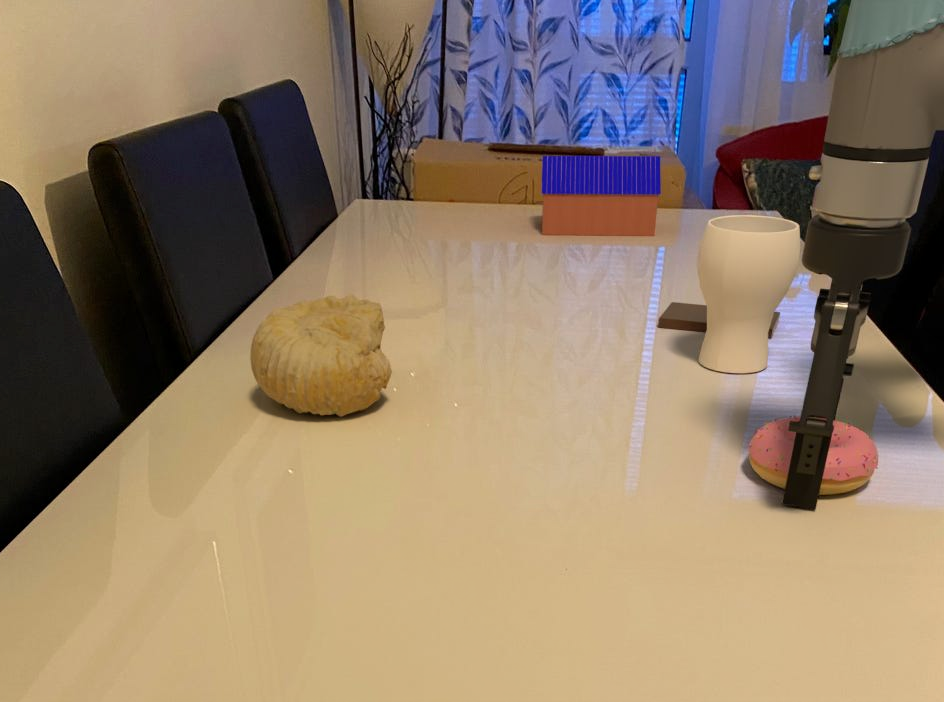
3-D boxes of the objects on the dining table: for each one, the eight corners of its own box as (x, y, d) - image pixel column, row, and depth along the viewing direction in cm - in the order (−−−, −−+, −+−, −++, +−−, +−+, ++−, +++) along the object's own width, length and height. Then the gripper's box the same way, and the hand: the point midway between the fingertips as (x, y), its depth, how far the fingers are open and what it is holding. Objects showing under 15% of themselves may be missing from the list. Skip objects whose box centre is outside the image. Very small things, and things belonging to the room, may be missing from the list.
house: (540, 221, 181) (542, 150, 175) (650, 222, 180) (656, 151, 173) (540, 235, 171) (542, 161, 165) (656, 236, 170) (663, 161, 163)
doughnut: (866, 456, 91) (876, 413, 89) (880, 508, 82) (892, 461, 80) (744, 446, 93) (751, 403, 91) (745, 495, 84) (752, 449, 82)
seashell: (237, 434, 103) (351, 429, 95) (203, 329, 98) (321, 314, 90) (331, 385, 115) (439, 377, 107) (306, 290, 110) (417, 273, 102)
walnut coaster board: (778, 321, 127) (780, 312, 126) (771, 339, 121) (772, 329, 120) (670, 311, 131) (671, 301, 131) (657, 327, 125) (658, 317, 124)
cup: (800, 366, 112) (826, 226, 104) (735, 385, 107) (757, 238, 99) (730, 343, 119) (749, 210, 111) (666, 359, 114) (681, 221, 106)
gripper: (823, 187, 86) (779, 419, 98) (793, 246, 67) (743, 526, 79) (915, 192, 84) (859, 429, 96) (910, 256, 65) (841, 542, 77)
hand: (806, 473), depth 87 cm, fingers open, 13 cm apart
